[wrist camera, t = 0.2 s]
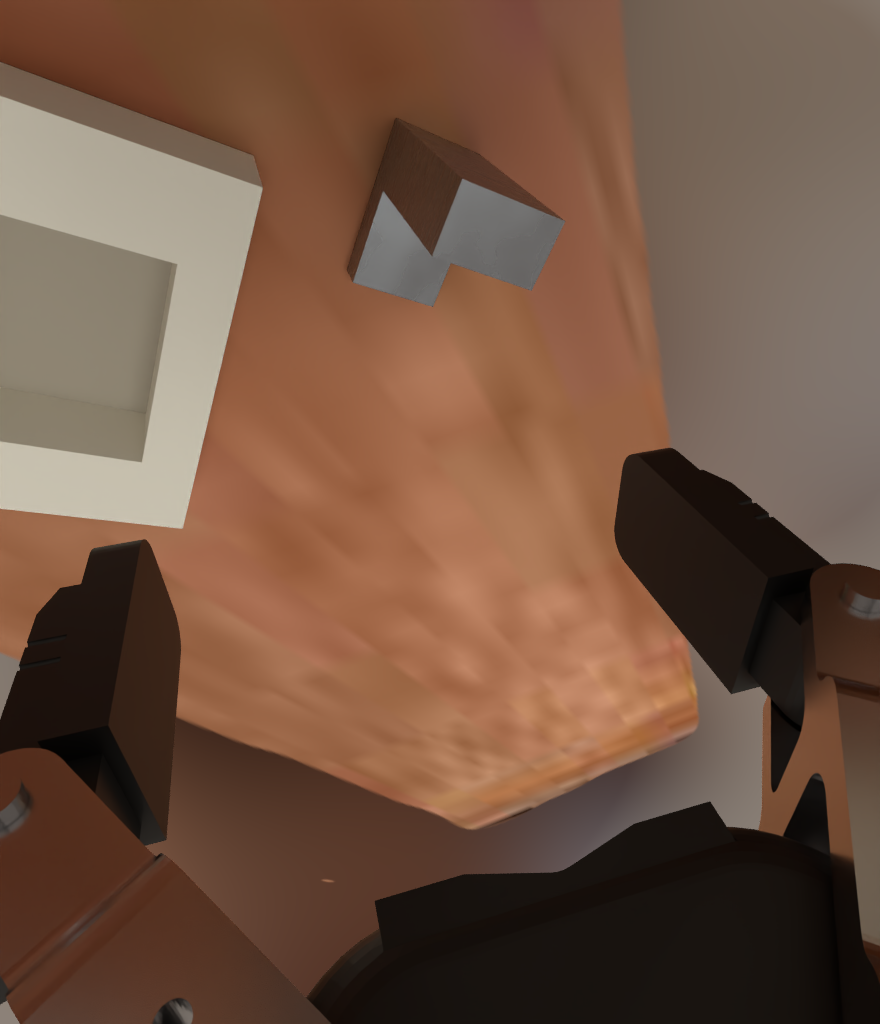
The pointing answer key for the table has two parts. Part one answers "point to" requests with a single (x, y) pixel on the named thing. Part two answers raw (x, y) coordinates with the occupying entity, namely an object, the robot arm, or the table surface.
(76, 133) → the well block
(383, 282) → the grey rectangular block
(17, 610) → the table surface
